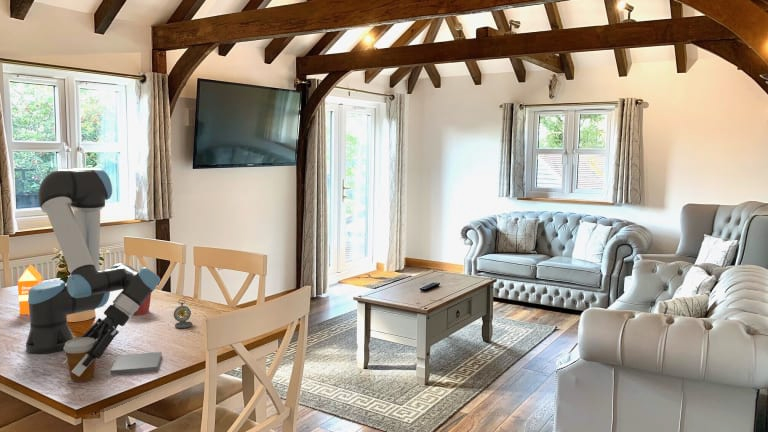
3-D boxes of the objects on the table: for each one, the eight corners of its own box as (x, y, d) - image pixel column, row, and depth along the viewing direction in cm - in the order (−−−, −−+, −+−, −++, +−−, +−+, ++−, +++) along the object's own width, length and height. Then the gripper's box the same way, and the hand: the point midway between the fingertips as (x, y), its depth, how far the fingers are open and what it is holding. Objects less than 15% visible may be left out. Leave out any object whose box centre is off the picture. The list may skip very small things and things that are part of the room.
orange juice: (44, 308, 268) (41, 263, 265) (40, 313, 259) (37, 267, 257) (24, 309, 265) (21, 264, 263) (19, 315, 257) (16, 269, 254)
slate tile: (110, 374, 194) (110, 370, 194) (118, 359, 207) (118, 355, 207) (157, 371, 197) (156, 366, 197) (161, 355, 211) (161, 351, 211)
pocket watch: (182, 330, 239) (181, 305, 238) (168, 326, 243) (167, 302, 242) (198, 324, 246) (198, 300, 245) (184, 321, 250) (183, 297, 249)
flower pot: (119, 314, 259) (118, 292, 257) (139, 307, 269) (138, 286, 268) (139, 317, 255) (137, 295, 254) (157, 310, 265) (156, 289, 264)
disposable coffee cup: (58, 381, 188) (56, 344, 187) (83, 370, 197) (81, 335, 195) (81, 386, 185) (79, 348, 183) (106, 374, 194) (104, 338, 192)
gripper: (142, 324, 191) (91, 386, 183) (118, 309, 207) (70, 366, 198) (124, 311, 187) (71, 373, 178) (101, 297, 203) (51, 354, 194)
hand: (70, 369), depth 188 cm, fingers closed on disposable coffee cup, 8 cm apart
